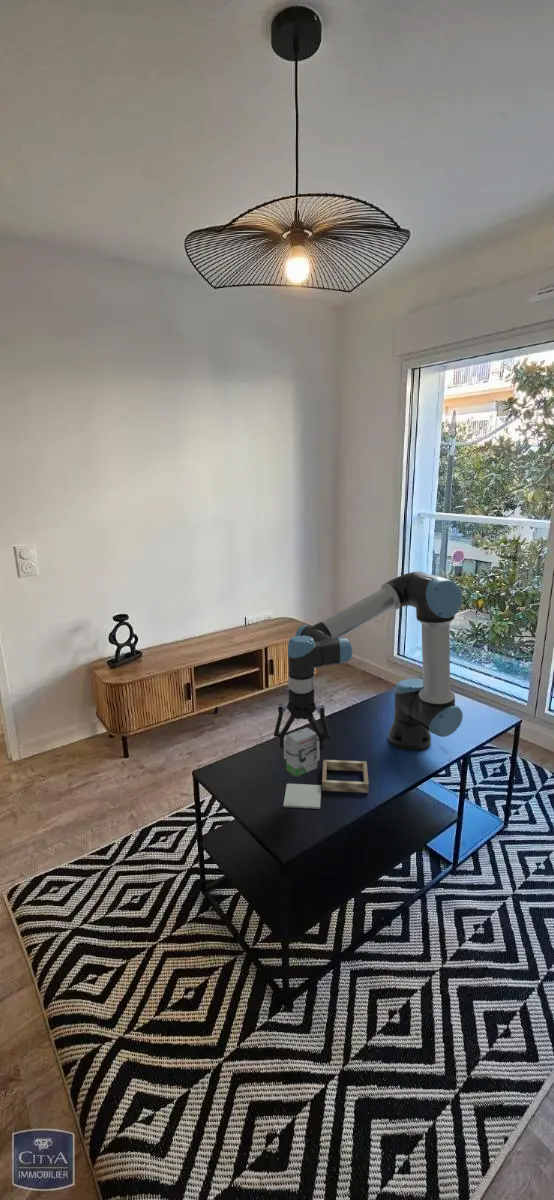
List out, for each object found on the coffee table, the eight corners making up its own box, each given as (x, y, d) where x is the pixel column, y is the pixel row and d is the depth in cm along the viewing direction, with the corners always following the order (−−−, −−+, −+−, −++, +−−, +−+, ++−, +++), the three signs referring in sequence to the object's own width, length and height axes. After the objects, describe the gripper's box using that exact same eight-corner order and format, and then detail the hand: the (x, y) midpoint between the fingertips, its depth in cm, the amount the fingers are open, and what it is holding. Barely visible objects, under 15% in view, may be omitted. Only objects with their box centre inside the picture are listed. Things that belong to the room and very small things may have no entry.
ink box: (295, 777, 152) (295, 741, 149) (285, 770, 156) (285, 735, 153) (318, 768, 157) (318, 732, 154) (307, 760, 161) (307, 726, 158)
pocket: (366, 769, 172) (366, 761, 171) (368, 792, 160) (368, 784, 159) (323, 767, 174) (323, 759, 173) (322, 790, 161) (322, 782, 161)
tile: (321, 786, 163) (321, 785, 163) (320, 808, 153) (320, 807, 153) (286, 785, 165) (286, 783, 164) (283, 806, 154) (283, 805, 154)
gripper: (339, 684, 152) (338, 752, 158) (266, 682, 155) (267, 749, 160) (339, 695, 145) (338, 766, 150) (262, 692, 147) (264, 762, 153)
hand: (301, 757), depth 155 cm, fingers closed on ink box, 9 cm apart
